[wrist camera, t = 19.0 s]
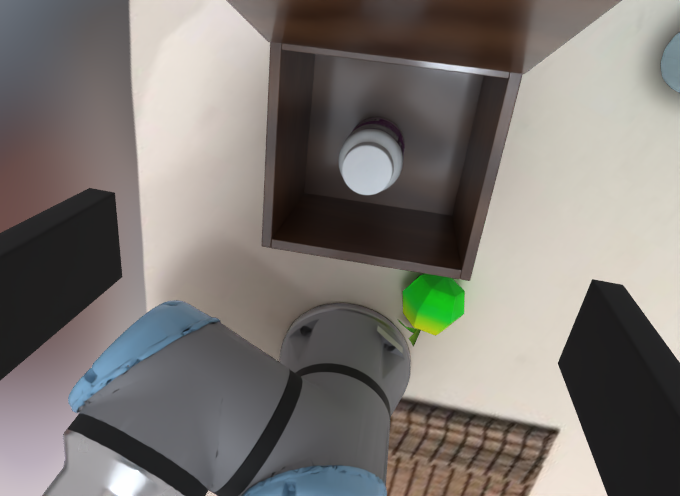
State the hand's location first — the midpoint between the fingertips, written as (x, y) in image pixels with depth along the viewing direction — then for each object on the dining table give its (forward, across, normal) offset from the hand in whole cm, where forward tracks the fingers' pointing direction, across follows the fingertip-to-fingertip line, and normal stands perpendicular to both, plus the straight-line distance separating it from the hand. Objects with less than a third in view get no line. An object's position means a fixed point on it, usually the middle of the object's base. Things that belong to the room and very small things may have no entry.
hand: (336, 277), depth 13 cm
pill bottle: (+34, +1, +5) cm, 35 cm away
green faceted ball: (+35, -7, +20) cm, 41 cm away
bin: (+35, 0, +4) cm, 35 cm away
